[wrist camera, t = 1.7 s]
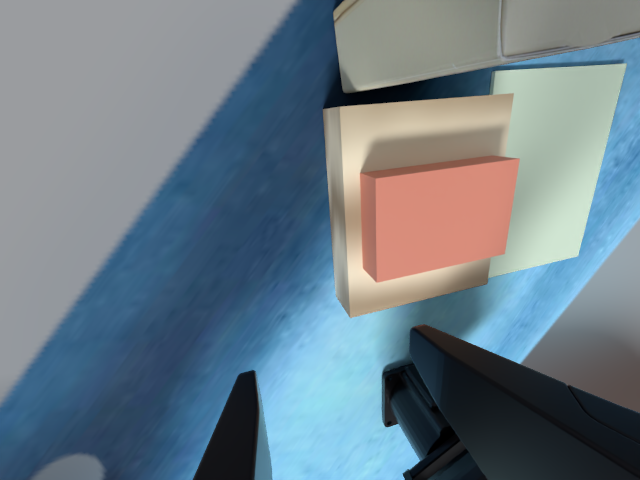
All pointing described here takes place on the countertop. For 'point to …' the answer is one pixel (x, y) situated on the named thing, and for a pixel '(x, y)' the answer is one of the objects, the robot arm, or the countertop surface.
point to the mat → (554, 157)
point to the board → (395, 152)
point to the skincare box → (467, 35)
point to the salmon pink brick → (435, 215)
